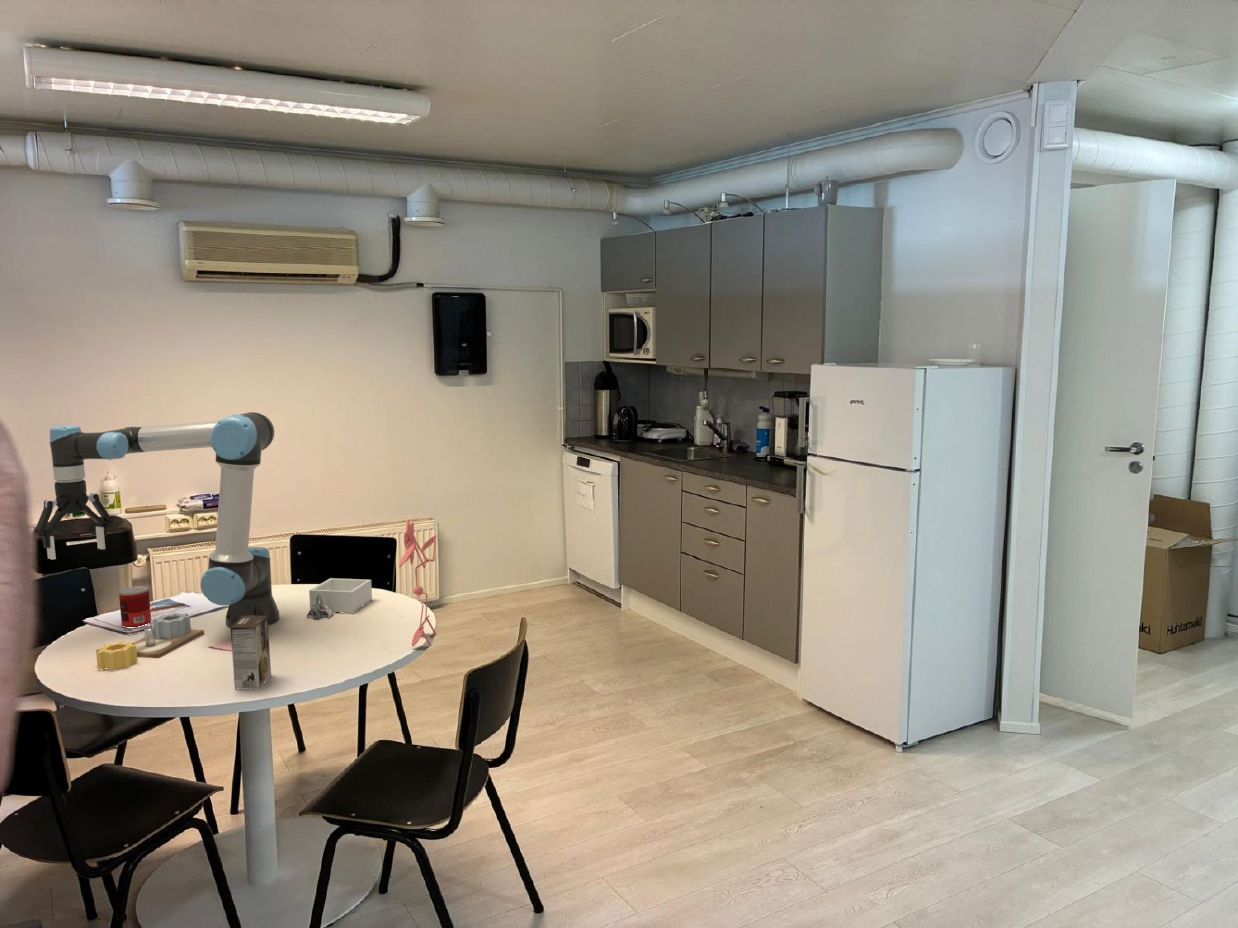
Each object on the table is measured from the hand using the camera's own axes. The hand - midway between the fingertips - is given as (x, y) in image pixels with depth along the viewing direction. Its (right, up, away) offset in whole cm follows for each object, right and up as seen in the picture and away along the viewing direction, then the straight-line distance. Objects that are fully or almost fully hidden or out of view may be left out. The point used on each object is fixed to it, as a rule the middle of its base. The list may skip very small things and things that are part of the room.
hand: (77, 553), depth 249 cm
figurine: (+95, -25, -1) cm, 99 cm away
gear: (+27, -23, +1) cm, 35 cm away
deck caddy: (+66, -20, +31) cm, 75 cm away
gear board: (+26, -25, -4) cm, 36 cm away
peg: (+25, -25, -8) cm, 36 cm away
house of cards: (+61, -23, +19) cm, 68 cm away
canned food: (+9, -23, +14) cm, 28 cm away
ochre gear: (+23, -27, -19) cm, 41 cm away
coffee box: (+63, -29, -31) cm, 77 cm away
